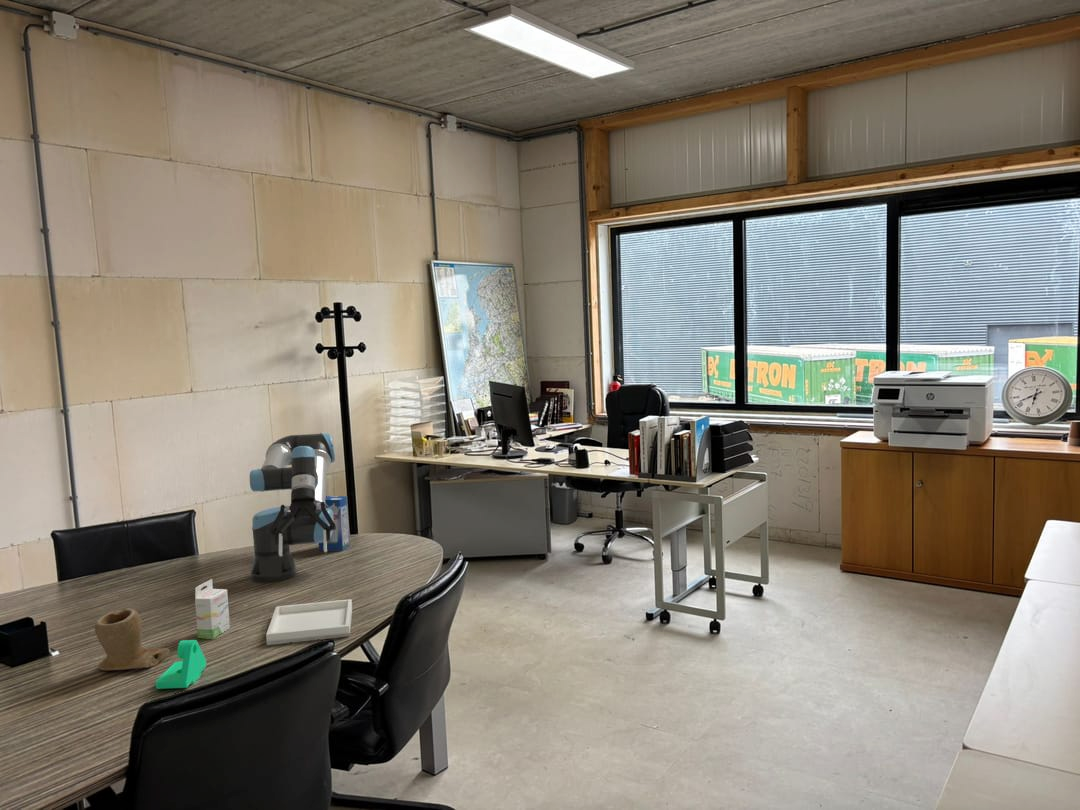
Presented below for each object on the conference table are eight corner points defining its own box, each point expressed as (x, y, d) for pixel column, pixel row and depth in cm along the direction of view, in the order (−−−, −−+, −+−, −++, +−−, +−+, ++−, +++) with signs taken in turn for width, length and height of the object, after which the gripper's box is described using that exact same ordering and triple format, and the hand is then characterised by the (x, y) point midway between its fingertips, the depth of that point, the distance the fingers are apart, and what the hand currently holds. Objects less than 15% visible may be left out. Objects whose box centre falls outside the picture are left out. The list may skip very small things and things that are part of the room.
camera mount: (176, 671, 201) (173, 632, 200) (206, 669, 201) (203, 631, 200) (154, 693, 189) (151, 652, 188) (187, 691, 190) (183, 650, 188)
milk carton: (349, 546, 310) (346, 496, 308) (342, 550, 304) (339, 499, 302) (326, 545, 312) (323, 495, 310) (318, 550, 306) (315, 499, 304)
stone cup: (88, 678, 198) (82, 620, 197) (113, 658, 210) (108, 603, 209) (148, 676, 198) (143, 619, 197) (170, 656, 210) (166, 602, 208)
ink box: (213, 640, 220) (209, 588, 219) (197, 639, 221) (193, 588, 220) (231, 628, 229) (227, 578, 227) (215, 627, 230) (211, 577, 228)
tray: (277, 616, 237) (276, 606, 237) (352, 608, 241) (351, 599, 241) (266, 645, 215) (266, 634, 215) (349, 636, 220) (349, 625, 219)
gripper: (261, 489, 253) (259, 552, 243) (341, 483, 258) (342, 545, 248) (265, 498, 260) (263, 560, 249) (343, 492, 264) (344, 553, 254)
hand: (303, 552), depth 249 cm, fingers open, 13 cm apart
